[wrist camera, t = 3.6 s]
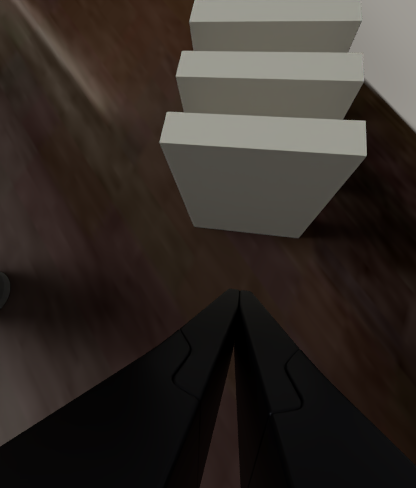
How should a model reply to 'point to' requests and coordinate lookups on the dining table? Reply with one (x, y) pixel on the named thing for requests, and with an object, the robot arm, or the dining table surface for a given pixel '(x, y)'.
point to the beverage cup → (4, 289)
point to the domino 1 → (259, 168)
